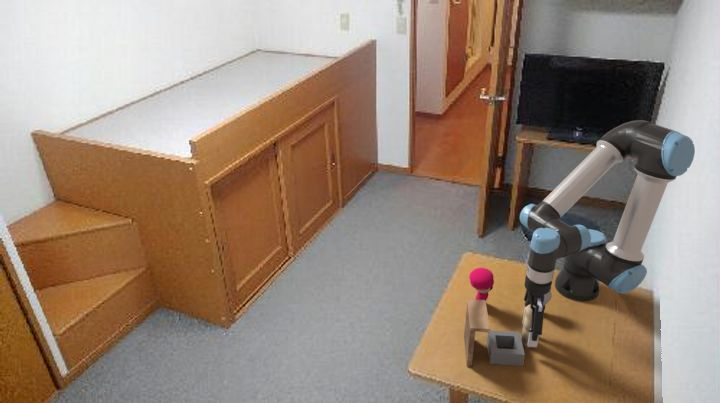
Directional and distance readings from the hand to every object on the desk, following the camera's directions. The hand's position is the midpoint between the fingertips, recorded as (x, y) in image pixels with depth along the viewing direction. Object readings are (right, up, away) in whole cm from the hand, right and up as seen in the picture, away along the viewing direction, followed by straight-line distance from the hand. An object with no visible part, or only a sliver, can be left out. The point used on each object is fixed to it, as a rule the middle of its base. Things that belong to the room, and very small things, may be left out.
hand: (529, 334), depth 172 cm
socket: (-8, -5, -2) cm, 10 cm away
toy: (-12, +5, +18) cm, 22 cm away
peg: (0, -3, +2) cm, 4 cm away
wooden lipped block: (-18, -5, -1) cm, 19 cm away
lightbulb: (+8, +4, +14) cm, 17 cm away
